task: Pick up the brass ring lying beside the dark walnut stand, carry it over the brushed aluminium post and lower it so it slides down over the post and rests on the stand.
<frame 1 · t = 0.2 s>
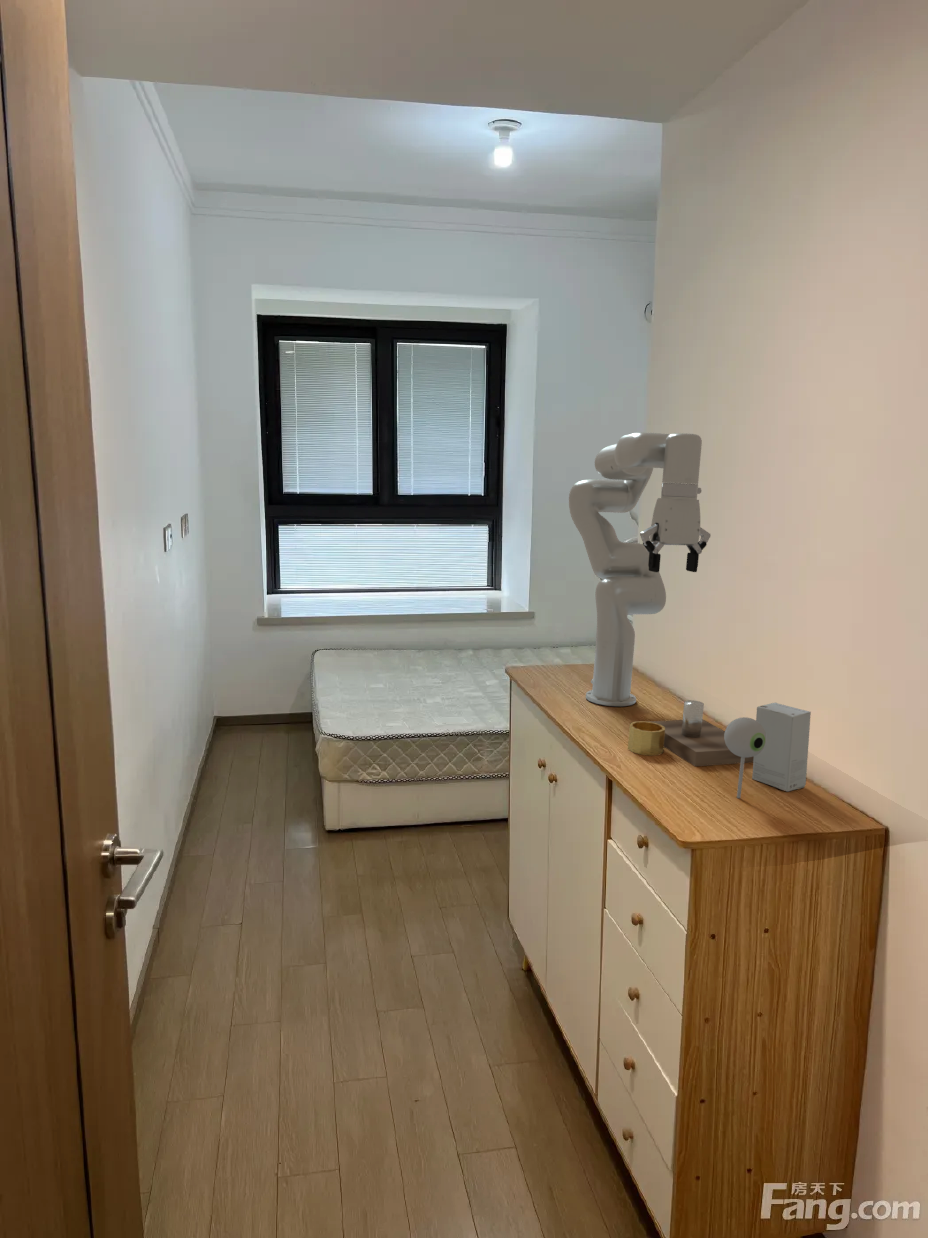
hand: (672, 571, 183), 36 cm above the table, tool pointing down, fingers open, 9 cm apart
lollipop: (738, 798, 152), on the table
walnut stand: (697, 747, 179), on the table
piston post: (690, 734, 178), resting on walnut stand
brass ring: (645, 749, 176), on the table
skincare box: (776, 784, 160), on the table
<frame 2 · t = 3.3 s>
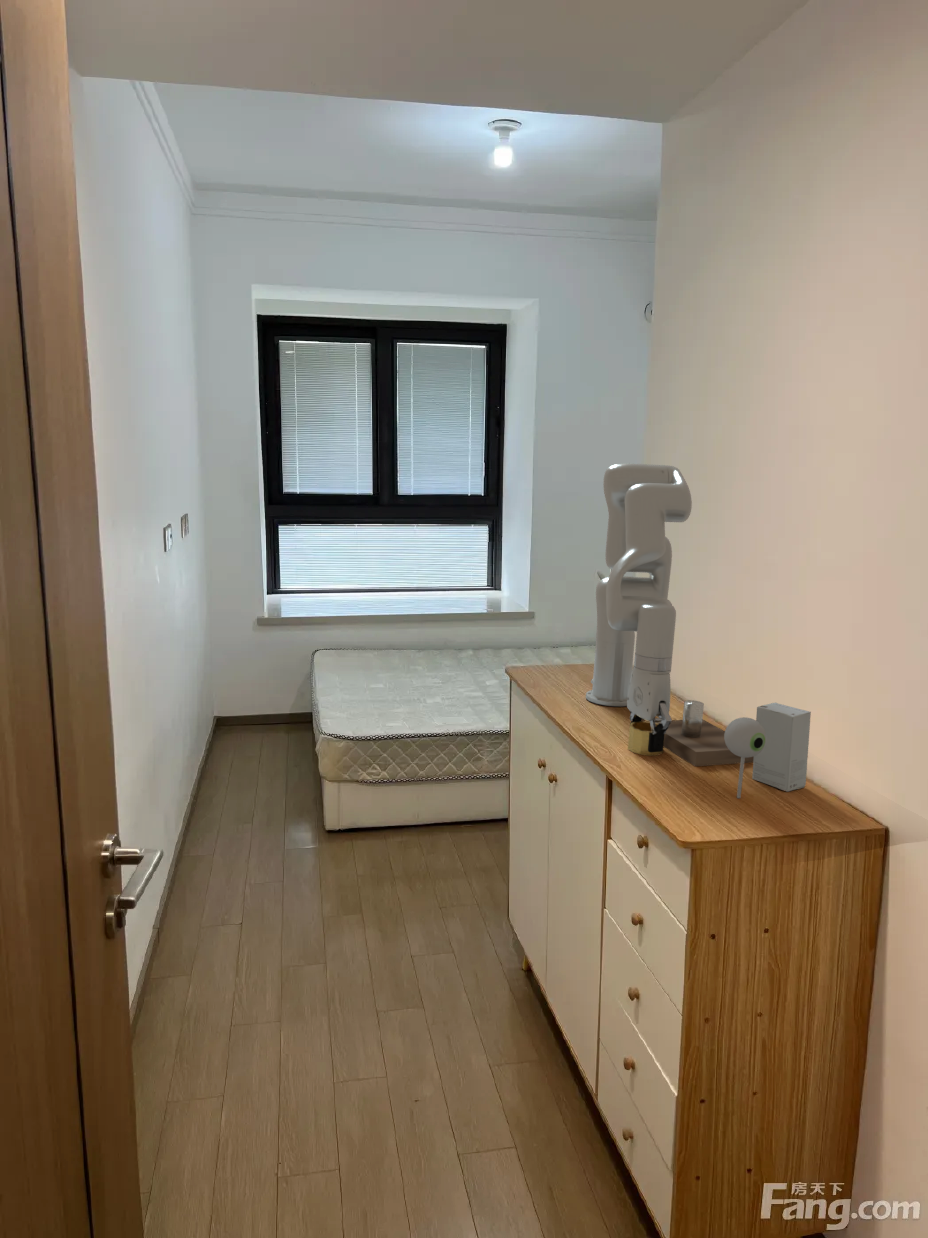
hand: (645, 744, 176), 1 cm above the table, tool pointing down, fingers closed on brass ring, 7 cm apart
brass ring: (645, 749, 176), on the table, touching gripper
everything else where it was.
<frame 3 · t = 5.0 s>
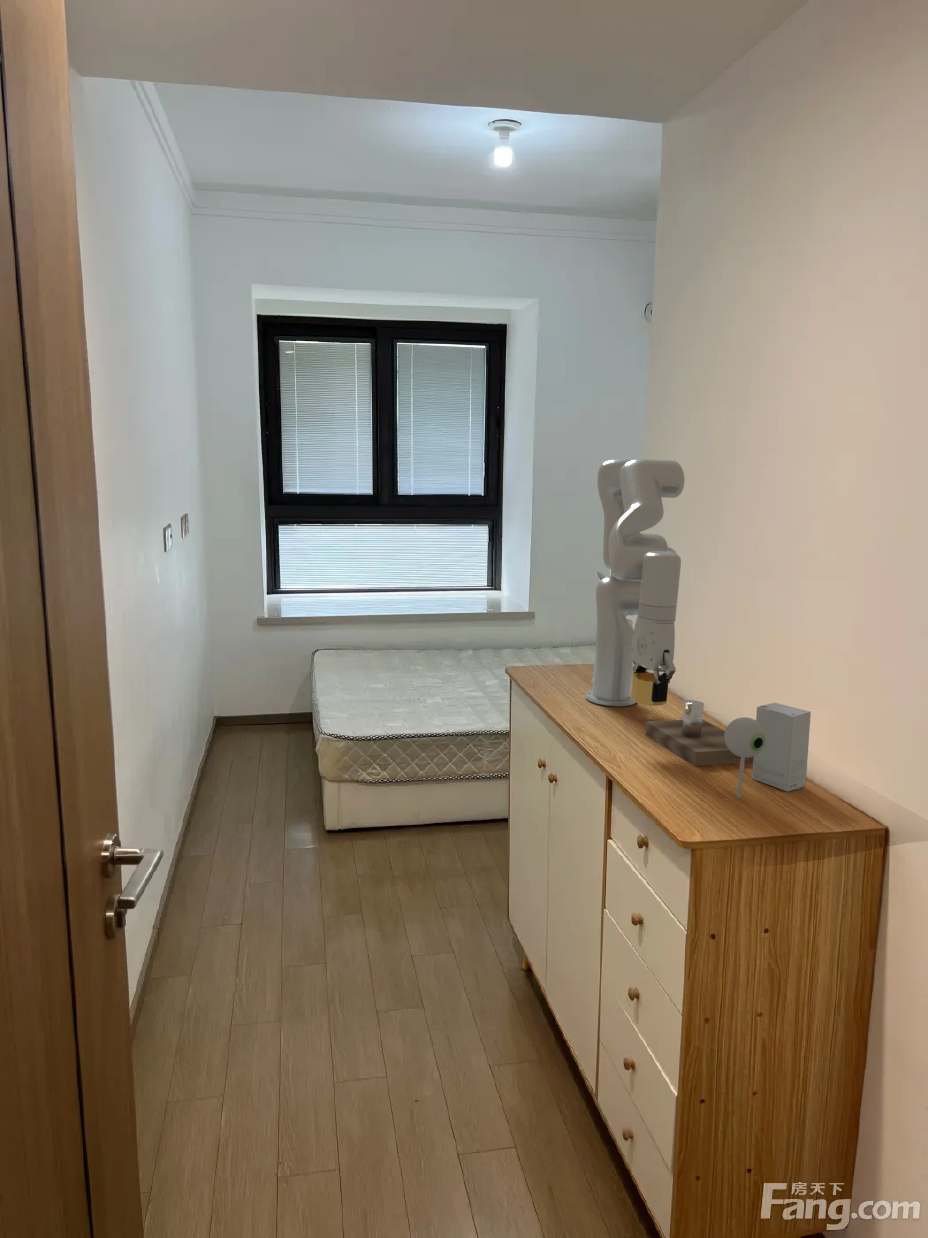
hand: (649, 695, 175), 12 cm above the table, tool pointing down, fingers closed on brass ring, 7 cm apart
brass ring: (648, 700, 175), point 11 cm above the table, touching gripper
everything else where it was.
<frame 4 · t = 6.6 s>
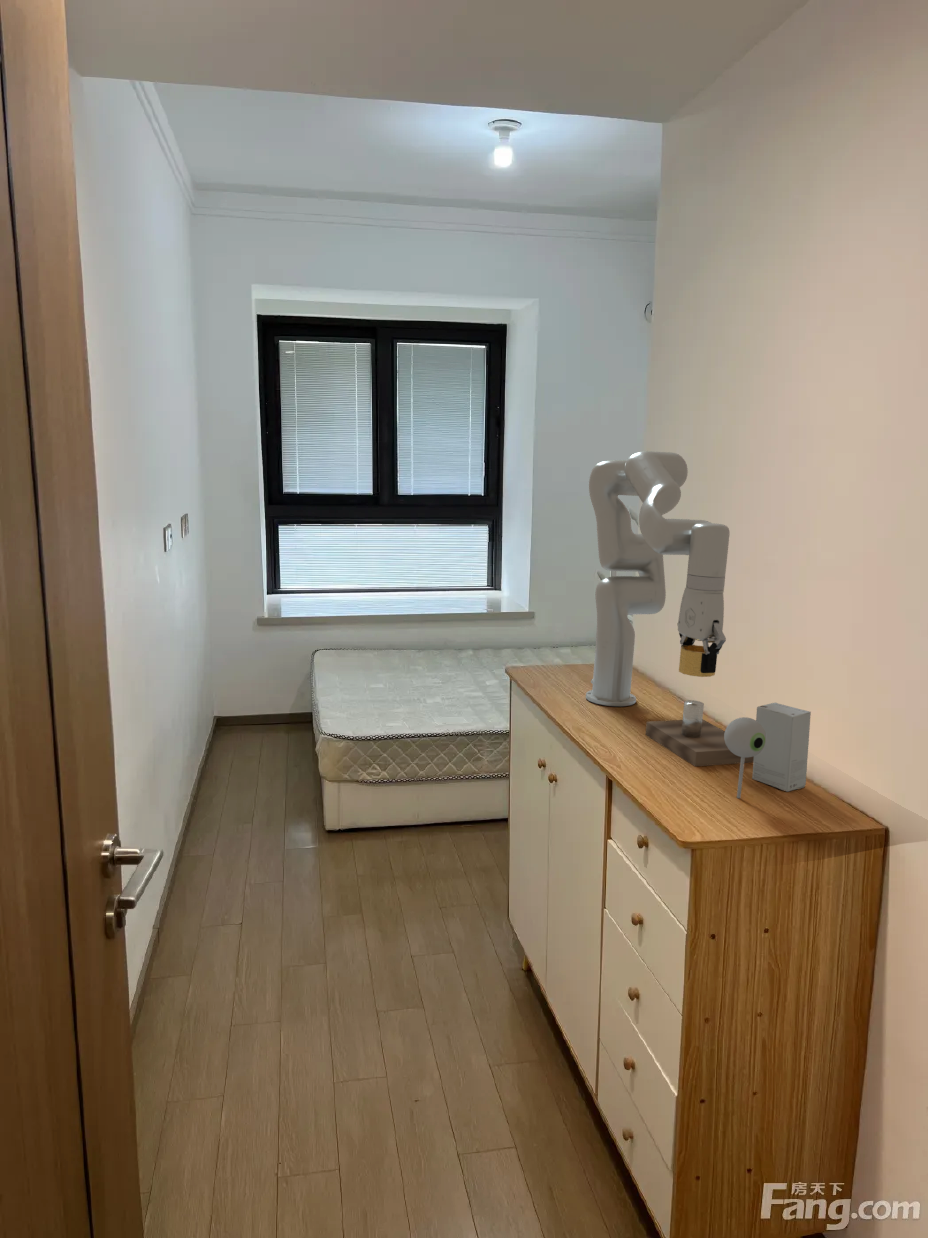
hand: (697, 667, 175), 18 cm above the table, tool pointing down, fingers closed on brass ring, 7 cm apart
brass ring: (696, 672, 175), point 17 cm above the table, touching gripper
everything else where it was.
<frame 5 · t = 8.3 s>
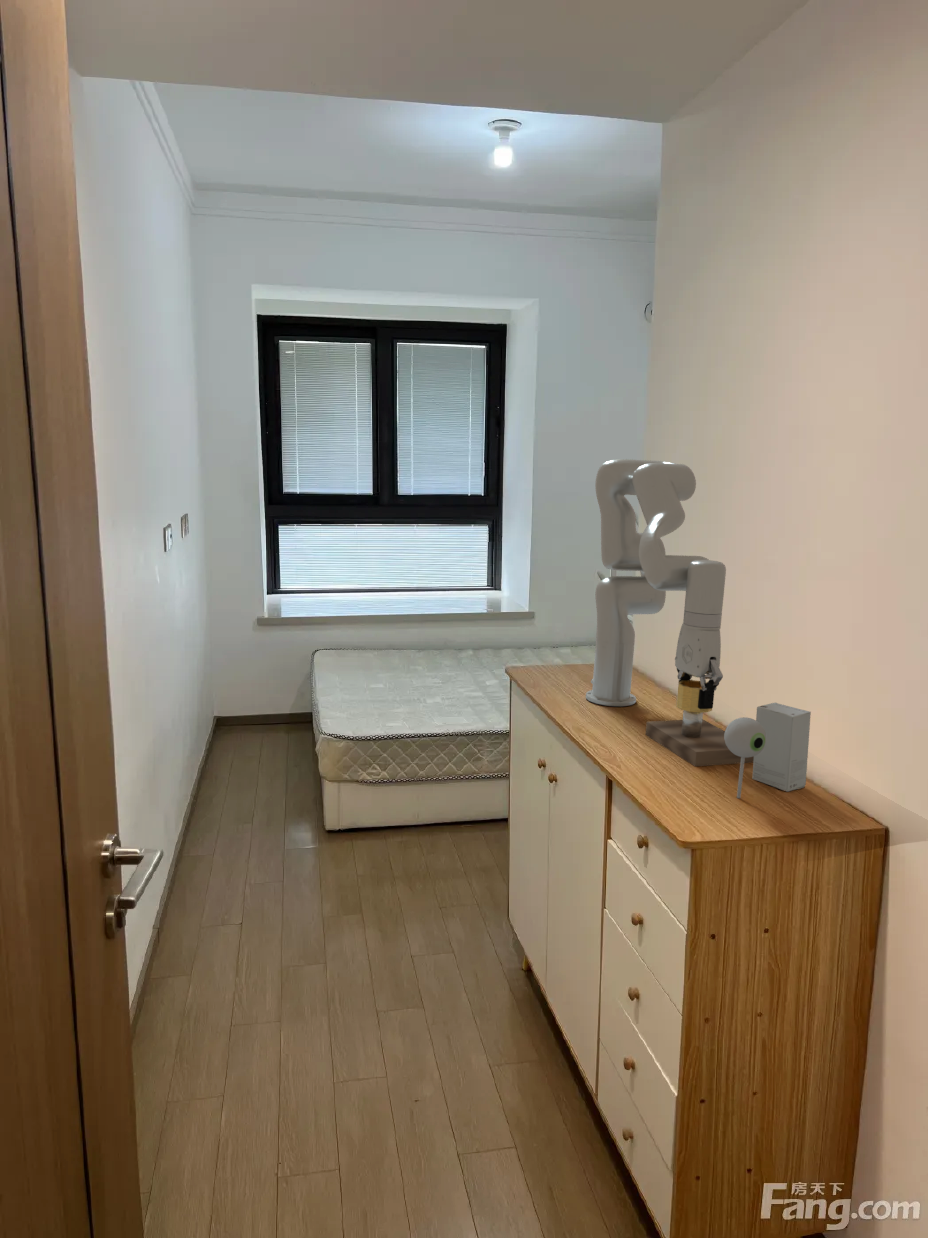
hand: (694, 702, 176), 10 cm above the table, tool pointing down, fingers closed on brass ring, 7 cm apart
brass ring: (694, 707, 176), point 9 cm above the table, touching gripper
everything else where it was.
when the fingers open (6 cm above the table, at t = 9.9 s): brass ring drops 2 cm, resting on walnut stand.
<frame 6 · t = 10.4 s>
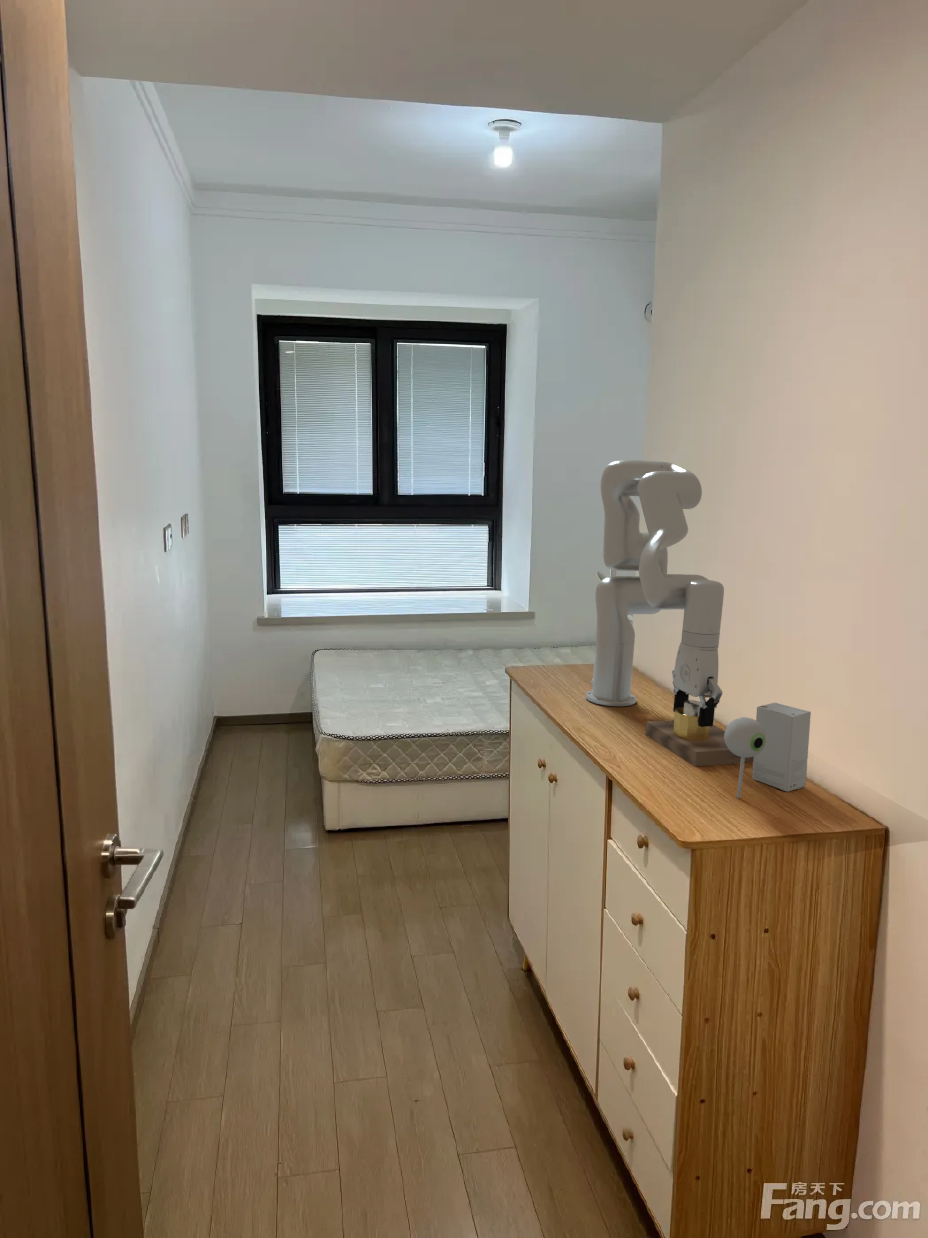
hand: (692, 719, 177), 7 cm above the table, tool pointing down, fingers open, 9 cm apart
brass ring: (690, 734, 178), point 3 cm above the table, touching walnut stand
everything else where it was.
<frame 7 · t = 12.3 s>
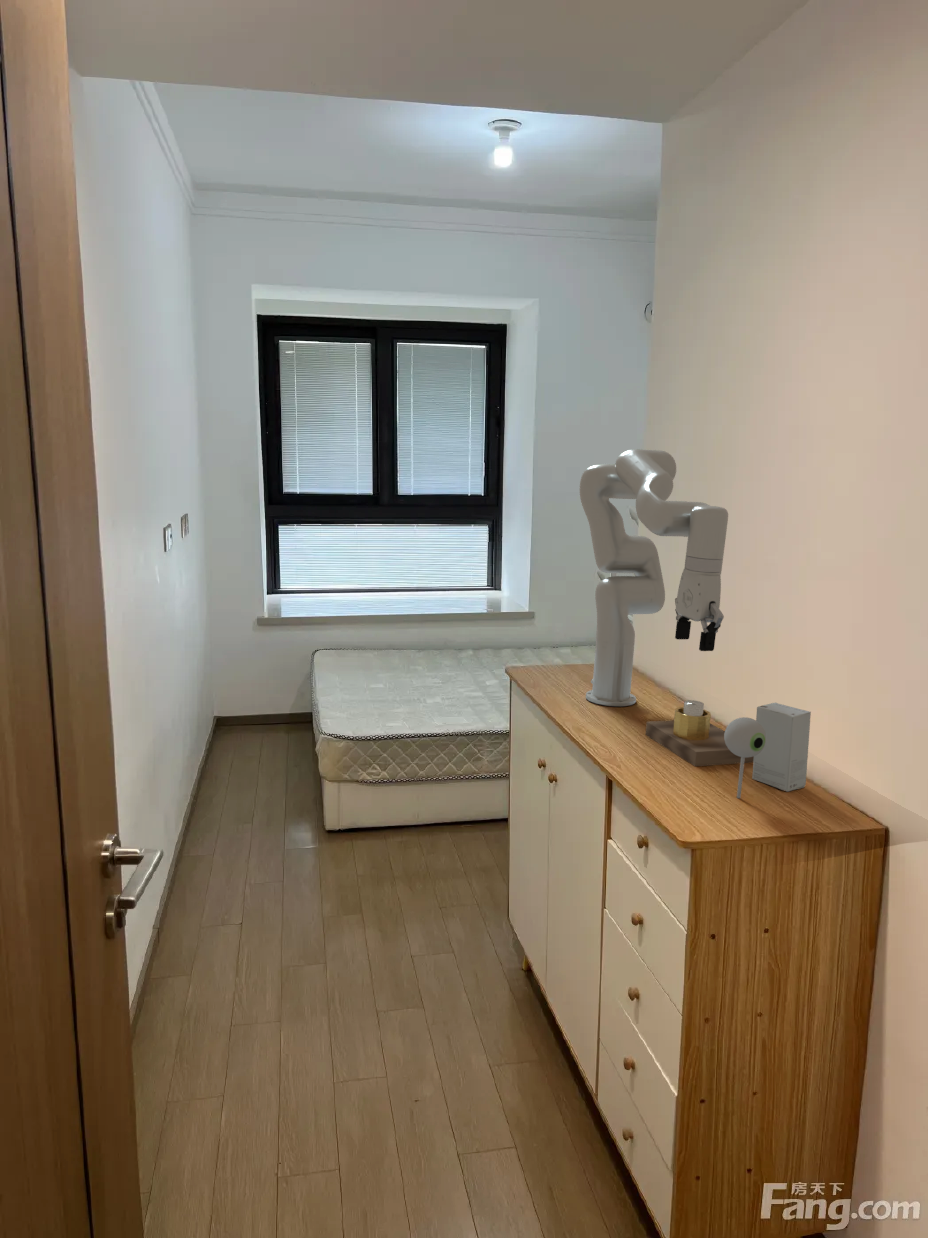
hand: (693, 644, 179), 22 cm above the table, tool pointing down, fingers open, 9 cm apart
nothing on the table moved.
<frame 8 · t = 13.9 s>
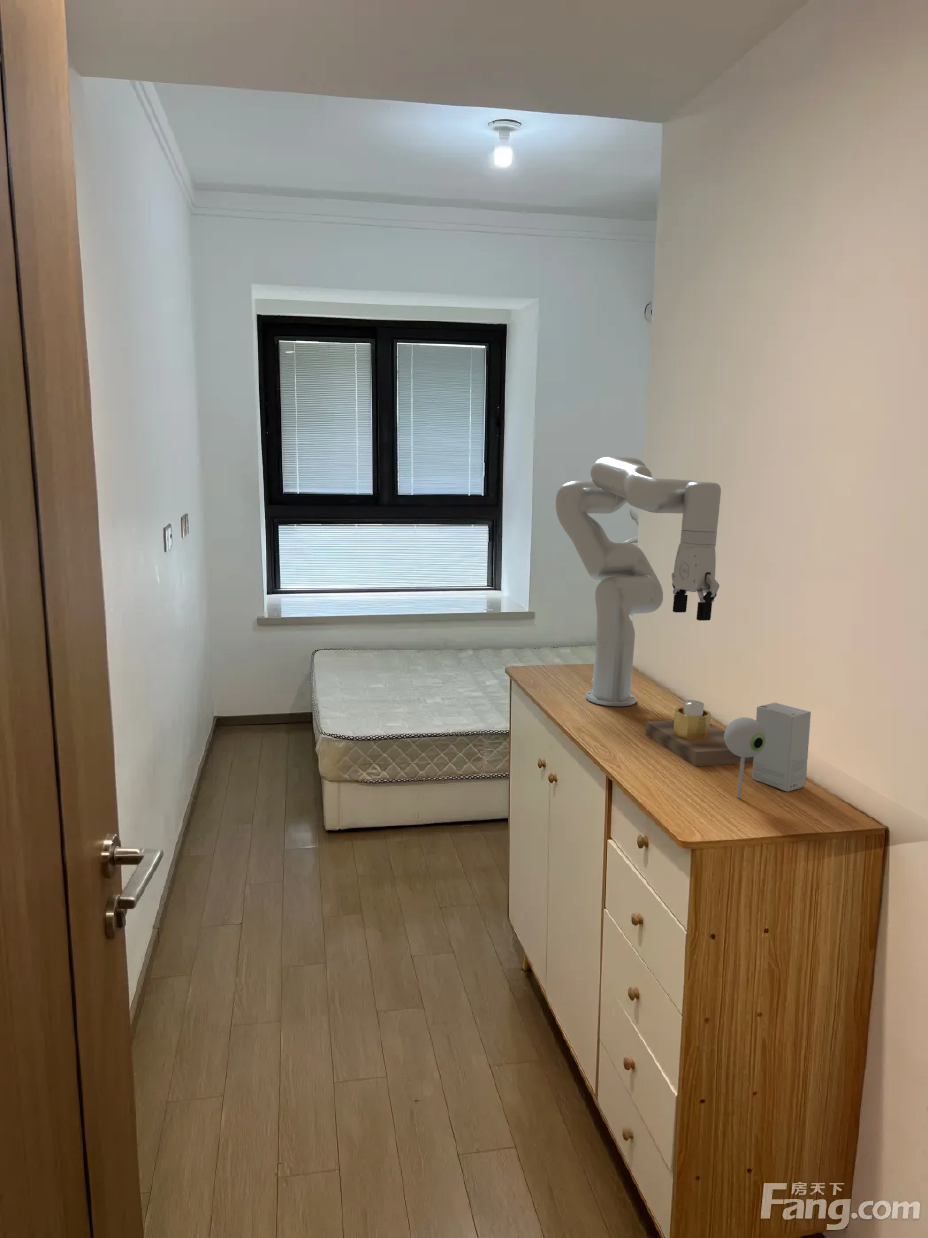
hand: (691, 616, 186), 26 cm above the table, tool pointing down, fingers open, 9 cm apart
nothing on the table moved.
at the end: brass ring 0.1 cm off-centre on the piston post, point 0.0 cm above the piston post's base; brass ring tilted 0°; the gripper is holding nothing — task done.
